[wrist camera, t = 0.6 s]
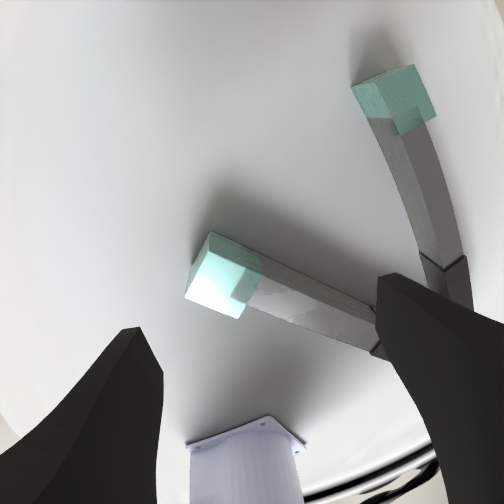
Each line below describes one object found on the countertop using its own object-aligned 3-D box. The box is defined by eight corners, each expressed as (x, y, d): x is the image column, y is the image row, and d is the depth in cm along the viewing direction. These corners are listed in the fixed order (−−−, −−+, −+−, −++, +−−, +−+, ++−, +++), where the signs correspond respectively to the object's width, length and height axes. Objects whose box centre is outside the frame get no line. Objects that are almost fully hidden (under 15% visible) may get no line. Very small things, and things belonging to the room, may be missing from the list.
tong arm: (453, 328, 23) (474, 350, 20) (424, 364, 24) (441, 389, 21) (222, 207, 17) (222, 226, 14) (189, 271, 18) (184, 301, 15)
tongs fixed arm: (461, 297, 22) (482, 317, 19) (435, 316, 22) (456, 338, 19) (386, 70, 15) (415, 64, 12) (349, 88, 15) (374, 82, 12)
